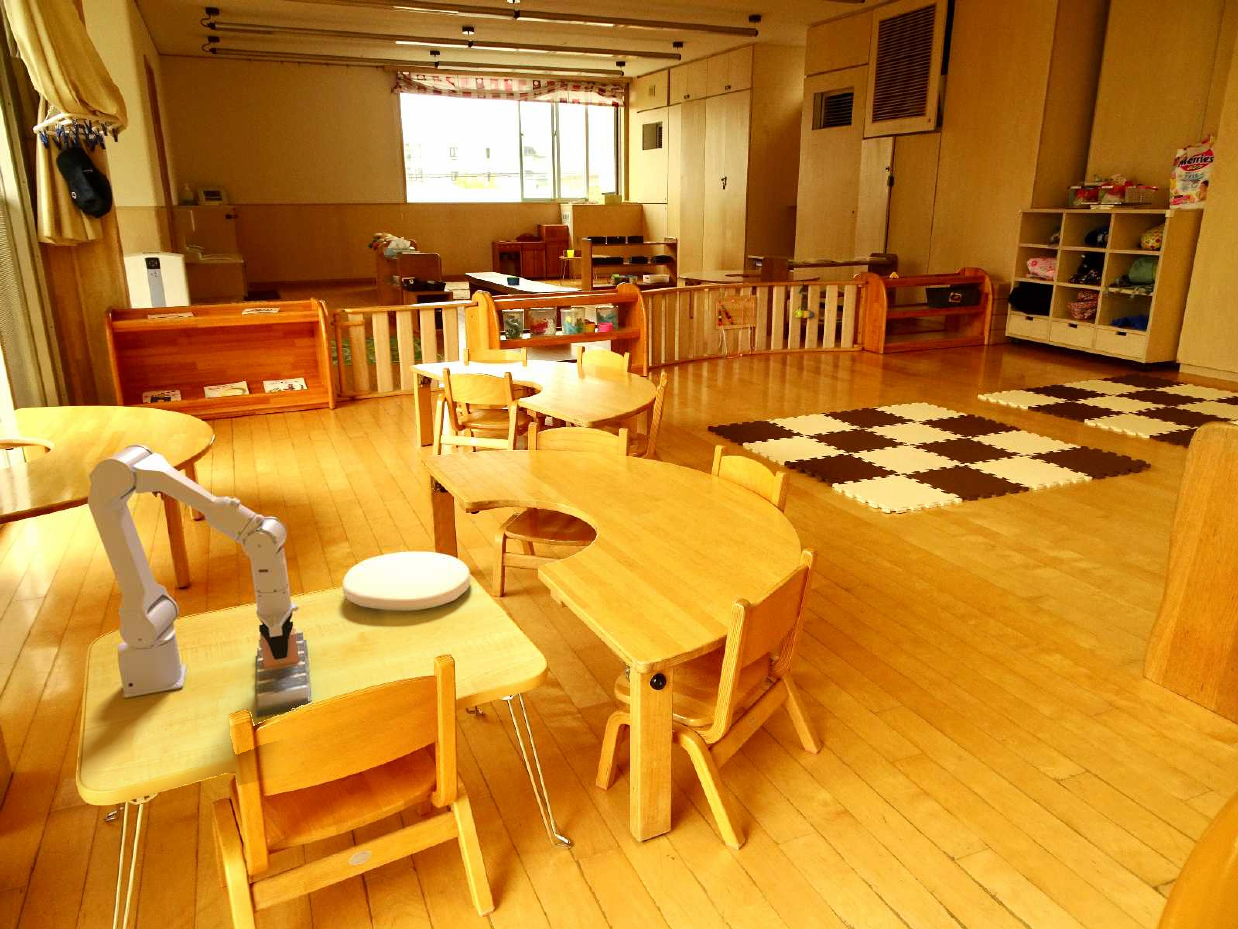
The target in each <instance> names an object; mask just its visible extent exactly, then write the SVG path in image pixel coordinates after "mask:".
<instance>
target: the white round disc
mask: <svg viewBox="0 0 1238 929" xmlns="http://www.w3.org/2000/svg"><path fill="white" fill-rule="evenodd" d="M469 575H470V576H469ZM471 577H472V576H471V572H470V569H469V567H468V566H467V564H465V562H463V561H462V560H460V559H459V558H457V557H455V556H452V555H449V554H444V553H441V552H440V553H439V552H433V551H432V552H431V551H401V552H400V551H399V552H394V553H389V554H382V555H378V556H373V557H371V558H366V559H364V560H363V561H361V562H359V563H357V564H355V565H354V566H352V567H351V568H350V569H349V570H348V571H347V572H346V574H345V575H344V577H343V581H342V593H343V595H344V597H345V598H346V599H347V600H348V601H349V602H352V603H353V604H355V605H357V606H359V607H365V608H370V609H377V610H385V611H405V612H406V611H418V610H419V611H420V610H425V609H431V608H434V607H439V606H442V605H446V604H447V603H450V602H452V601H453V602H454V601H455V600H457V599H458V598H459V597H460V596H461V595H463V594H464V593H465V592H466V591H467V590H468V588H469V587H470V586H471Z"/></svg>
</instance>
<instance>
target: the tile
mask: <svg viewBox="0 0 1238 929" xmlns="http://www.w3.org/2000/svg"><path fill="white" fill-rule="evenodd" d="M296 632H297V630H296V628H294V627H293V628H292V630H291V633H290V635H289V640H288V653H287V657H286V658H282V659H276V660H275V659H274V657H273V655H272V652H271V650H270V647H269V644H268V642H267V641H266V639H265V638H264V637H263V636H262V635H261V633H260V634H259V638H260V643H261V650H262V657H263V664H264V669H266V668H272V667H277V666H283V665H289V664H294V663H300V662H299V654H298V646H297V638H296Z"/></svg>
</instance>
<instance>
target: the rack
mask: <svg viewBox="0 0 1238 929" xmlns="http://www.w3.org/2000/svg"><path fill="white" fill-rule="evenodd" d="M296 638H297V646H298V654H299V662H300V663H294V664H289V665H283V666H277V667H272V668H266V669H264V664H263V657H262V650H261V643H260V637H258V646H259V647H257V648H256V649H257V650H256V685H255V686H256V689H255V690H256V692H255V693H256V695H255V715H256V718H260V717H261V718H262V717H265V716H270V715H274V714H275V715H276V714H281V713H284V712H289V711H288V710H291V709H292V708H297V707H299V706H301V705H306V704H308V703H310V702H312V703H313V698H312V689H311V688H312V687H311V679H310V678H311V677H310V676H311V675H310V665H309V654H308V644H307V639H304V633H303V630H299V631H297V630H296ZM291 711H292V710H291Z"/></svg>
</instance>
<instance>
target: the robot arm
mask: <svg viewBox="0 0 1238 929" xmlns="http://www.w3.org/2000/svg"><path fill="white" fill-rule="evenodd" d="M88 478H89V481H90V486H89V491H88V498H87V504H88V508H89V511H90V514H91V516H92V518H93V521H94V524H95V526H96V529H97V532H98V534H99V537H100V540H101V542H102V545H103V548H104V550H105V554H106V555H107V558H108V560H109V564H110V566H111V568H112V571H113V574H114V577H115V579H116V582H117V584H118V587H119V589H120V592H121V596H122V597H121V601H120V603H119V604H120V605H119V608H118V612H117V613H118V618H119V620H120V625H119V634H120V637H121V639H122V640H123V641H122V642H120V643H119V644H118V646H117V663H118V669H119V674H120V675H119V676H120V679H121V686H122V689H123V698H132V697H138V696H143V695H149V694H153V693H160V692H165V691H169V690H177V689H181V688H184V682H185V679H186V678H185V677H186V673H187V672H186V671H187V664H181V659H180V653H179V646H178V641H177V636H176V630H175V623H174V622H175V621H176V619H178V616H179V613H180V611H179V610H180V609H179V606H178V604H177V602H176V601H175V600H174V599H173V598H172V597H171V596H170V594H169V593H168V591H167V588H166V587H165V586H164V585H161V584H158V583H157V582H156V580H155V578H154V574H153V572H152V569H151V566H150V563H149V560H148V558H147V556H146V553H145V550H144V546H143V544H142V542H141V538H140V536H139V533H138V531H137V528H136V525H135V523H134V520H133V517H132V514H131V511H130V509H129V506H128V501H129V499H130V498H131V497H132V496H133V494H134V493H135V494H144V493H145V494H146V493H153V492H161V493H163V494H165V495H167V496H169V497H171V498H173V499H175V500H177V501H179V502H181V503H182V504H184V505H186V506H188V507H190V508H192V509H194V510H195V511H197V512H200V513H201V514H203V515H204V519H205V522H206V524H207V526H210V527H211V528H214V529H215V530H216V531H218V532H220V533H221V534H223V535H225V536H227V537H229V538H230V539H232V540H234V541H235V542H237V543H238V544H241V548H242V551H243V552H244V554H245V555H246V556H247V557H248V558H249V559H250V567H251V574H252V581H253V588H254V596H255V603H256V617H257V618H258V619H259V621H260V622H261V624H259V626H258V629H259V633H260V634H261V635H262V636H263V637H264V638H265V639H266V641H267V642H268V644H269V647H270V650H271V652H272V655H273V657H274V659H275V660H276V659H282V658H286V657H287V653H288V640H289V635H290V633H291V630H292V629H293V628H294V621H291V619H292V617H293V616H294V615H293V612H297V611H299V603H298V602H293V603H292V599H291V592H290V591H291V590H290V584H289V575H288V568H287V560H286V554H285V547H284V546H283V545H284V543H285V541H286V540H287V537H288V531H287V528H286V526H285V524H284V523H283V522H281V521H280V520H279V519H278V518H277V517H274V516H265V515H264V516H263V514H261V513H260V514H258V513H256V512H254V511H252V509H249V508H248V507H247V506H244V505H243V504H241V500H240V499H238V498H236V497H233V498H231V497H230V496H218V497H217V496H215V495H213V493H211V492H210V491H208V490H206V489H205V488H203V487H202V486H201V485H199V484H198V483H196V482H195V481H194V480H192V479H190V478H189V477H188V476H186V475H184V474H183V473H182V472H180V471H179V470H177V469H176V468H174V467H173V466H172V465H171V464H169V462H168V461H167V460H166V458H165V457H164V456H163V455H161V454H159V453H157V452H154V451H153V450H152V449H150V448H149V447H147V446H145V445H142V444H136V443H135V444H130V445H128V446H126V447H125V448H124V449H123V450H121V451H119V452H117V453H115V454H114V455H112V456H110V457H108V458H106V459H103V460H101V461H99V462H98V463H97V464H96V466H95V467H94V468H93V469H92V471H91V472H90V473H89V474H88Z"/></svg>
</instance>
